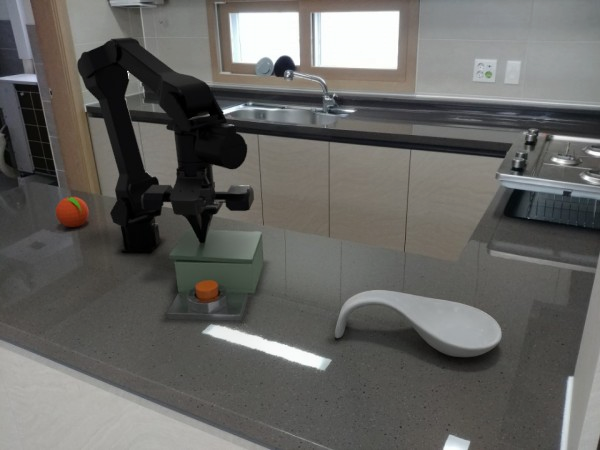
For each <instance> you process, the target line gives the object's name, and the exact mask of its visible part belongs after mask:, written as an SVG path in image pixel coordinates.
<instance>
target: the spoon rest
mask: <svg viewBox="0 0 600 450" xmlns="http://www.w3.org/2000/svg"><path fill="white" fill-rule="evenodd" d="M367 306H383V307H386V308H388V309H390V310H392V311H394V312H395V313H397V314H399V315H400V316H401V317H402V318H403V319H404V320H405V321H406V322H407V323H409V325H410V326H411V327H412V328H413V329H414V330H415V331H416V332H417V334H418V335H419V336H420V337H421V338H422V339H423V341H425V342H426V344H428V345H429V346H430V347H432V348H433V349H435V350H436V351H438V352H440V353H441V354H444V355H446V356H450V357H455V358H456V357H457V358H472V357H478V356H481V355H484V354H485V353H488V352H490V351H491V350H493V349H494V348H496V347H497V346H498V345H499V344H500V343H501V340H502V337H503V332H502V329H501V325H500V324H499V323H498V322H497V320H496V319H495V318H494V317H492V316H491V315H490V314H488V313H486V312H485V311H483V310H481V309H479V308H477V307H475V306H472V305H468V304H465V303H461V302H457V301H451V300H445V299H438V298H432V297H427V296H421V295H417V294H410V293H406V292H400V291H395V290H394V291H393V290H385V289H372V290H366V291H363V292H362V291H361V292H358V293H357V294H354V295H352V296H351V297H349V298H348V299H347V300H346V301H345V302H344V304H343V305H342V306H341V309H340V312H339V315H338V319H337V321H336V326H335V330H334V337H335V338H336V339H340V338H341V337H343V335H344V333H345V330H346V326H347V323H348V322H347V321H348V318H349V317H350V315H351V314H352V313H354V311H357V310H358V309H360V308H364V307H367Z"/></svg>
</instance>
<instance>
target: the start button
mask: <svg viewBox="0 0 600 450" xmlns="http://www.w3.org/2000/svg"><path fill="white" fill-rule="evenodd" d="M218 294H219V293H218V284H217V283H216V282H215V281H211V280H207V281H202V282H199V283H198V284H197V285H196V296H197V298H198V299H200V300H210V299H214V298H216V297H217V296H218Z"/></svg>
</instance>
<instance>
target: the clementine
mask: <svg viewBox="0 0 600 450" xmlns="http://www.w3.org/2000/svg"><path fill="white" fill-rule="evenodd" d="M89 212H90V211H89V207H88V204H87V203H86V201H84V200H83V199H82V198H79V197H77V196H68V197H65V198H63V199H62V200H60V201H59V202H58V203H57V205H56V207H55V216H56V219H57V220H58V222H59V223H60V224H62V225H63V226H65V227H67V228H77V227H79V226H82V225H83V224H84V223H85V222H86V221H87V220H88V218H89V214H90V213H89Z"/></svg>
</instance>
